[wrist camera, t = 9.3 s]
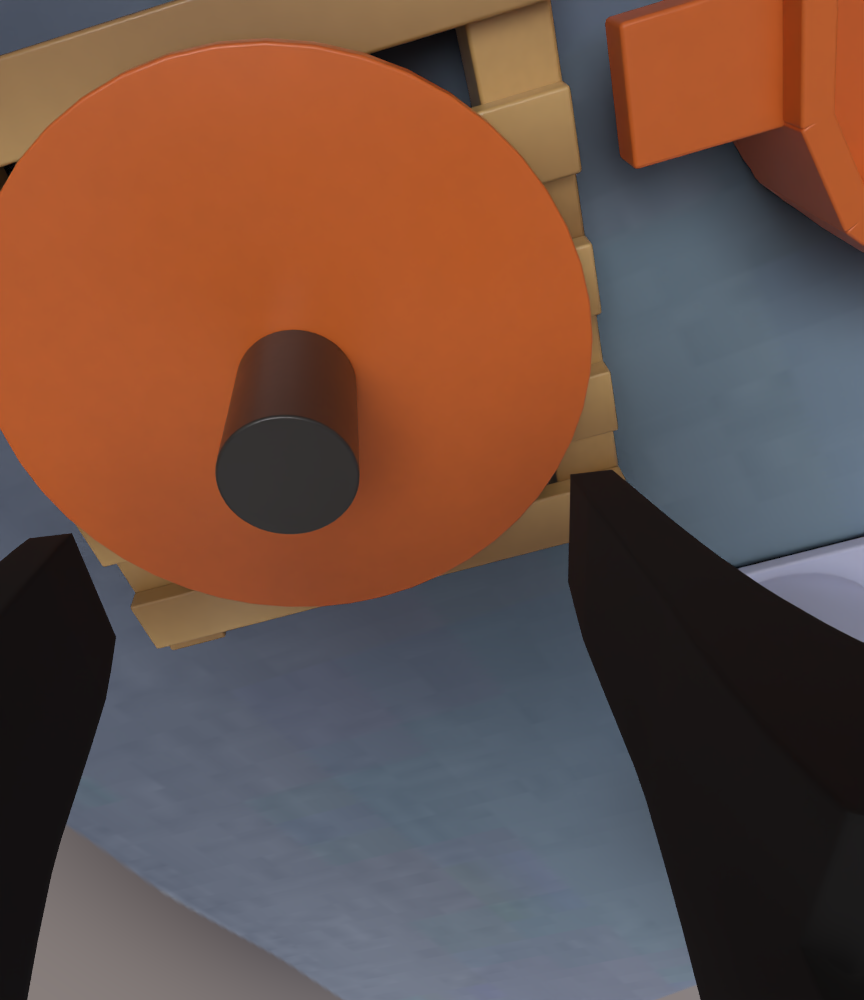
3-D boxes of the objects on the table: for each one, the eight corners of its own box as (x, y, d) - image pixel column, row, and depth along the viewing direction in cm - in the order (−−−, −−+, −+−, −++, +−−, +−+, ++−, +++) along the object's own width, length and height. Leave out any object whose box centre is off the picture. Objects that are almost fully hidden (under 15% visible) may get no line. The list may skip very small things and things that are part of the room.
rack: (608, 491, 23) (635, 547, 21) (183, 603, 24) (168, 667, 22) (506, -156, 15) (535, -170, 13) (-147, 54, 16) (-222, 72, 14)
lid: (612, 508, 20) (673, 637, 17) (157, 627, 21) (117, 776, 18) (523, -61, 13) (594, -59, 10) (-149, 149, 14) (-323, 227, 11)
